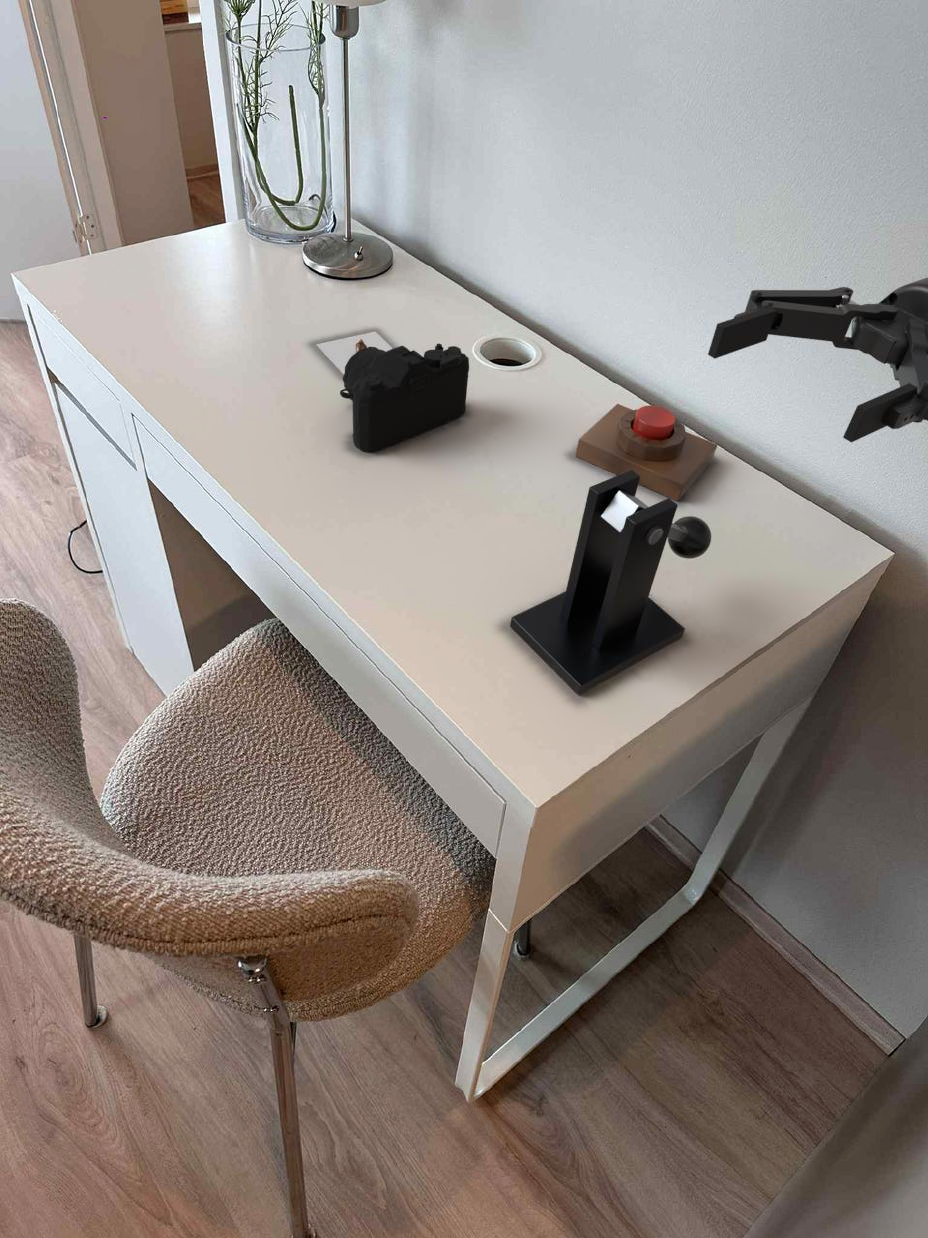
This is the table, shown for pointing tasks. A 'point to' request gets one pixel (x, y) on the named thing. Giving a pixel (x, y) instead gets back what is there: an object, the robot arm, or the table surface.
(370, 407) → the film camera
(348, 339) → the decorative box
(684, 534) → the switch lever
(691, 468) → the brown button base
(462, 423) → the table surface
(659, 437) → the button
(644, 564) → the black lever stand
